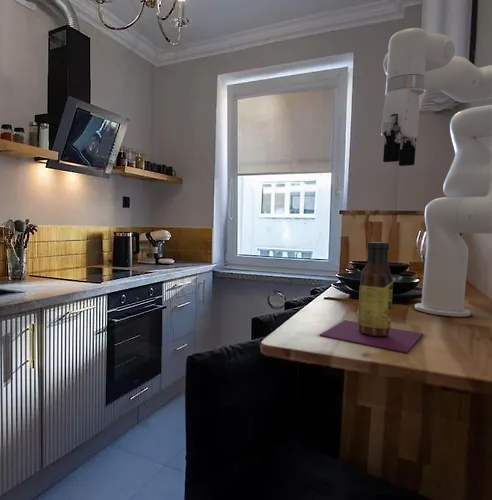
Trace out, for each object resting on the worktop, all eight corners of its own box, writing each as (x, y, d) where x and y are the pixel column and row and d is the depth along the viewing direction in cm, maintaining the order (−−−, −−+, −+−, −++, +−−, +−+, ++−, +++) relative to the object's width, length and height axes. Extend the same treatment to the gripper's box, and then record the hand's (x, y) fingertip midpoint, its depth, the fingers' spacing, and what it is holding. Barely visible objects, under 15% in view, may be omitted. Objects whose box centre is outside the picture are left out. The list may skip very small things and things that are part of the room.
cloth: (345, 321, 103) (345, 320, 103) (422, 334, 93) (422, 333, 93) (319, 335, 90) (319, 334, 90) (406, 353, 79) (407, 352, 79)
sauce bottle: (394, 339, 88) (401, 243, 86) (361, 336, 89) (368, 242, 87) (383, 330, 94) (389, 241, 93) (353, 328, 95) (359, 240, 94)
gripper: (399, 98, 106) (394, 167, 107) (371, 83, 94) (366, 161, 96) (435, 92, 100) (429, 165, 101) (409, 75, 89) (403, 158, 90)
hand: (399, 163), depth 99 cm, fingers open, 9 cm apart
